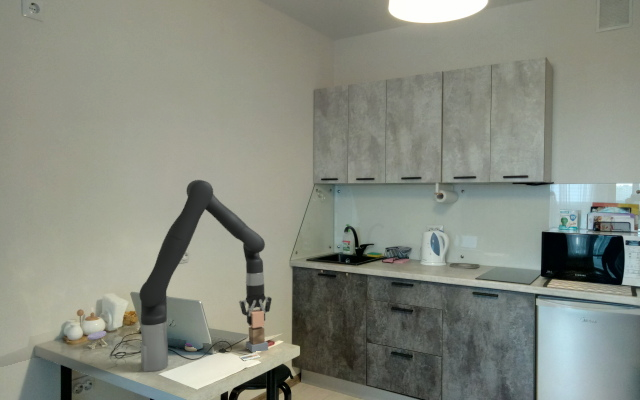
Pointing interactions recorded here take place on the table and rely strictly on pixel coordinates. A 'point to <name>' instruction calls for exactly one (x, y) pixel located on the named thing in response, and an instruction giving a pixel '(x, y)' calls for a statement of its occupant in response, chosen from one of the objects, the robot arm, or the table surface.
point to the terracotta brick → (257, 318)
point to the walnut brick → (256, 335)
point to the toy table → (97, 338)
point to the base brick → (257, 346)
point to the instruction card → (250, 356)
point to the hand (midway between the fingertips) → (256, 323)
